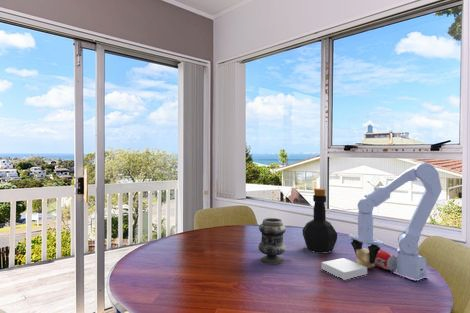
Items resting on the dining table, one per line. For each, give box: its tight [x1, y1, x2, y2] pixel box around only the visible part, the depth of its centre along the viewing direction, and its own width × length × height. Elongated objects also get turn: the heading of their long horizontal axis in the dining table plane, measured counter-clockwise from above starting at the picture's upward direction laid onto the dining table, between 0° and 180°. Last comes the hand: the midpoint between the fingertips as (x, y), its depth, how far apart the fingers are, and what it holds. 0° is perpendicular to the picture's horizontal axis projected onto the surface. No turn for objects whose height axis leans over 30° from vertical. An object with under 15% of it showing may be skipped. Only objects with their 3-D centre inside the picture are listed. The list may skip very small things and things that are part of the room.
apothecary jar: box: [257, 217, 287, 265], centre depth 132 cm, size 12×12×18 cm
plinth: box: [321, 257, 368, 281], centre depth 119 cm, size 12×12×3 cm
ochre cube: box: [355, 247, 376, 269], centre depth 123 cm, size 5×5×6 cm
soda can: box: [375, 248, 397, 272], centre depth 124 cm, size 7×7×12 cm
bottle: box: [302, 188, 338, 253], centre depth 148 cm, size 16×16×30 cm
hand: (365, 260), depth 123 cm, fingers closed on ochre cube, 5 cm apart
